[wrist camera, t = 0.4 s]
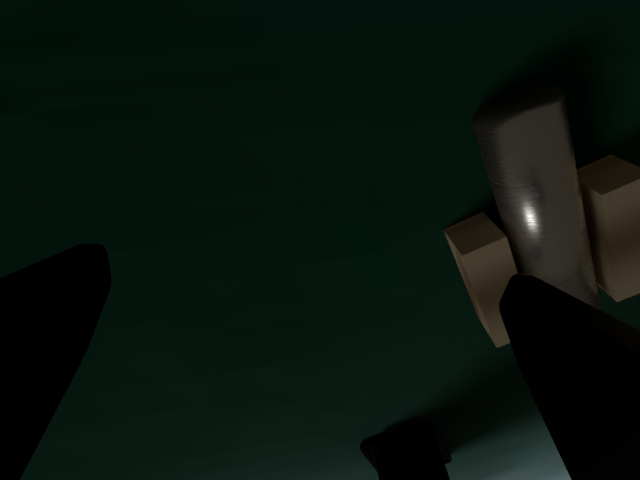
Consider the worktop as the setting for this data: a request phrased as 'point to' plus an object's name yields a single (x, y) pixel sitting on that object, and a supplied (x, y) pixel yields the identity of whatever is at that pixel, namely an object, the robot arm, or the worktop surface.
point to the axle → (538, 187)
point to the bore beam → (603, 232)
